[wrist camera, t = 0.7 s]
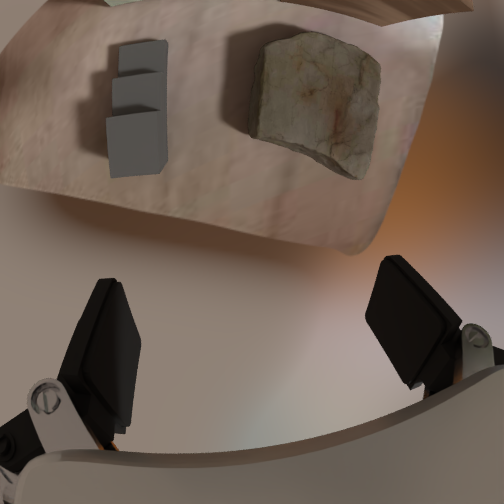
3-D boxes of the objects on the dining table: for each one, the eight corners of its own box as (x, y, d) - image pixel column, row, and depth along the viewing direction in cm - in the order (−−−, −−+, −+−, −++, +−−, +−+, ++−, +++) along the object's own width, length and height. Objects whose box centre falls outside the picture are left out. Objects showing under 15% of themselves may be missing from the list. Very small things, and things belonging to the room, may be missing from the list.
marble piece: (352, 176, 34) (367, 187, 30) (241, 162, 31) (245, 171, 28) (373, 59, 25) (392, 57, 22) (259, 28, 23) (266, 18, 19)
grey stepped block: (124, 49, 21) (106, 39, 16) (168, 43, 22) (159, 30, 17) (127, 164, 28) (110, 178, 23) (168, 160, 29) (159, 173, 24)
